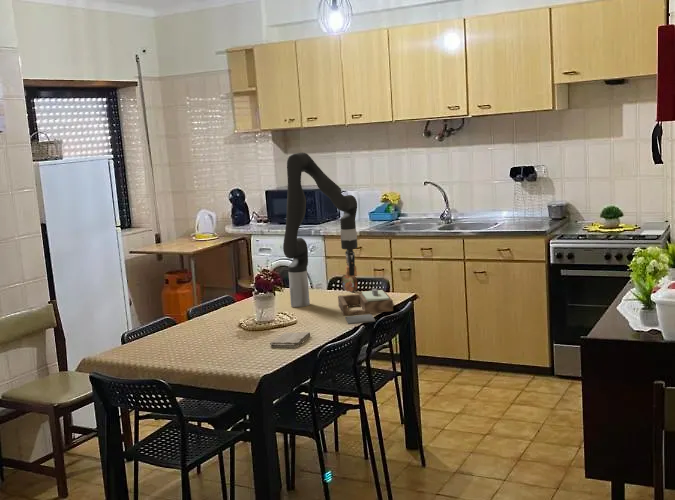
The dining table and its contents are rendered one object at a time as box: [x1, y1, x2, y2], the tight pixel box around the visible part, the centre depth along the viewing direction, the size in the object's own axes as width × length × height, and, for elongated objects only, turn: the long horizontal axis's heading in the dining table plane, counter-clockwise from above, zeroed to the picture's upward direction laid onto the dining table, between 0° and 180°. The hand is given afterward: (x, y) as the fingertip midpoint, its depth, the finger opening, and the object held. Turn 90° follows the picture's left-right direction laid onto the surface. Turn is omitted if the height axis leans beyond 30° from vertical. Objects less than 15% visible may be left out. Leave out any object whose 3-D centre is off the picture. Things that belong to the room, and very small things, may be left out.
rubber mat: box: [344, 313, 376, 325], centre depth 342 cm, size 12×12×1 cm
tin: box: [341, 274, 358, 293], centre depth 406 cm, size 15×3×8 cm, turn 25°
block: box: [344, 265, 358, 277], centre depth 360 cm, size 4×4×4 cm
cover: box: [361, 288, 390, 302], centre depth 363 cm, size 10×19×3 cm, turn 6°
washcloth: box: [269, 331, 311, 349], centre depth 313 cm, size 12×18×3 cm, turn 164°
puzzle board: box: [337, 290, 394, 317], centre depth 363 cm, size 23×21×5 cm
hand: (351, 274), depth 360 cm, fingers closed on block, 4 cm apart
